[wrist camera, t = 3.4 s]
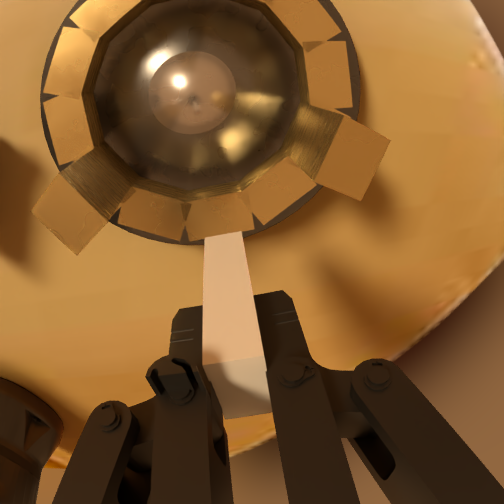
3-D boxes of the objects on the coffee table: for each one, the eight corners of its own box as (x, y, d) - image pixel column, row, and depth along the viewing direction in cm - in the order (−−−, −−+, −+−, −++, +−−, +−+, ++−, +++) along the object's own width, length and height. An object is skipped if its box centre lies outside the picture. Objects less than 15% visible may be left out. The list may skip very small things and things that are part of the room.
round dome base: (272, 252, 22) (296, 318, 16) (39, 185, 17) (-15, 231, 12) (374, 28, 15) (441, 17, 9) (118, -58, 10) (83, -105, 5)
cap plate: (279, 262, 25) (297, 311, 20) (32, 191, 20) (-9, 226, 15) (387, 26, 17) (438, 17, 12) (116, -67, 11) (90, -103, 6)
